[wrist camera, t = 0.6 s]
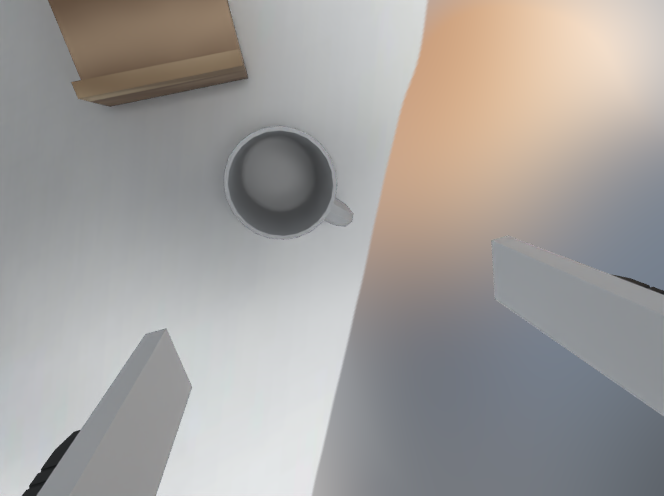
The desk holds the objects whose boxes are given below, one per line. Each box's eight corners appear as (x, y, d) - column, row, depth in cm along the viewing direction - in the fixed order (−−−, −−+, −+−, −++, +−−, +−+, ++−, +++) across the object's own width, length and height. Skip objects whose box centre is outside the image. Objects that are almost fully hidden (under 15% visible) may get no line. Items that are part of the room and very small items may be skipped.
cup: (262, 115, 28) (257, 101, 20) (359, 175, 31) (391, 186, 23) (223, 189, 29) (203, 206, 21) (320, 241, 32) (337, 274, 24)
